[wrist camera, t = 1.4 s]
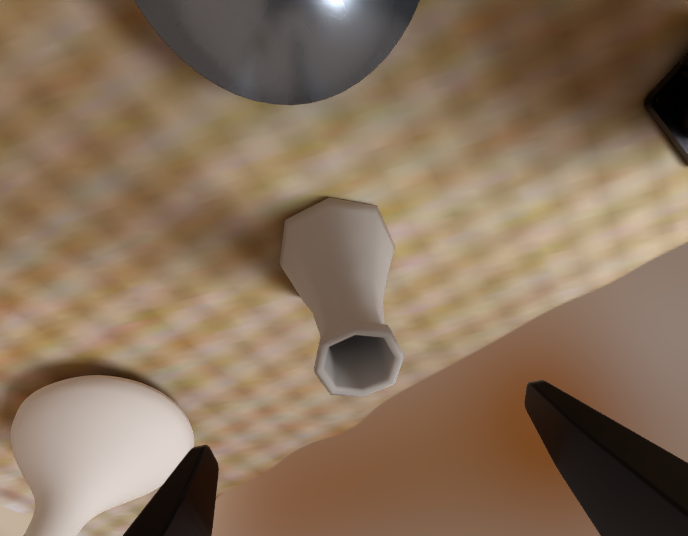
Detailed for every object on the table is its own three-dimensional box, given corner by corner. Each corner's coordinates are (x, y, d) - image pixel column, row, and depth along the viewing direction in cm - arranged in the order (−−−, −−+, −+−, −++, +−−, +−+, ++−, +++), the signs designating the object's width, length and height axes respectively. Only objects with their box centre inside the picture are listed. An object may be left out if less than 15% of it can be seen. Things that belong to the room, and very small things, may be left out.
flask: (396, 293, 22) (457, 418, 13) (290, 310, 22) (279, 449, 13) (390, 187, 19) (464, 256, 10) (266, 205, 19) (227, 293, 10)
